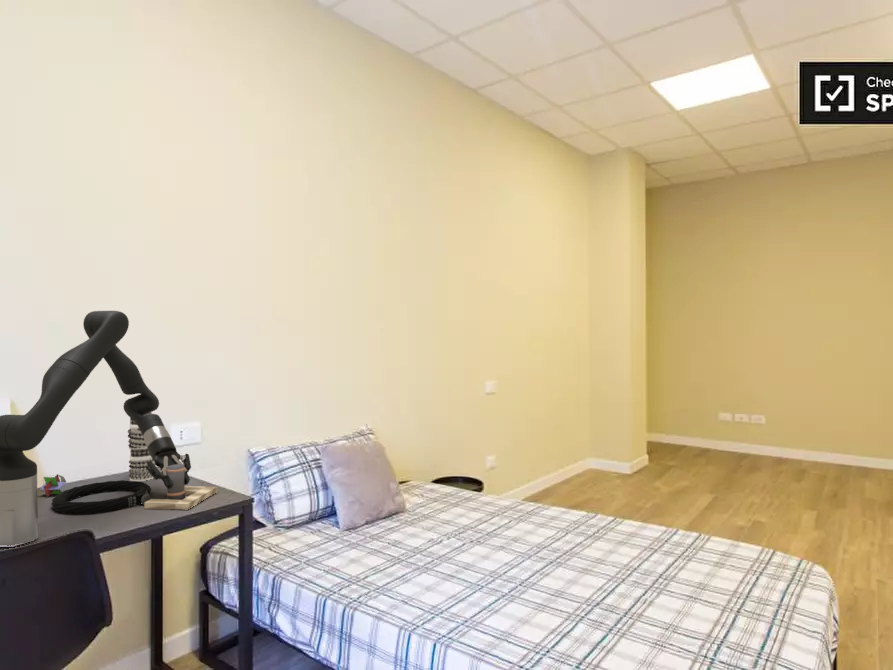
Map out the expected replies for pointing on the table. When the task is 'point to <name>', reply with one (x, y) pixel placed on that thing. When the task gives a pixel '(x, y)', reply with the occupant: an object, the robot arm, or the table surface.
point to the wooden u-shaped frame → (194, 497)
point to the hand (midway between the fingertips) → (179, 485)
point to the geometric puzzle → (53, 485)
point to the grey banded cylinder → (176, 481)
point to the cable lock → (137, 498)
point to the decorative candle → (138, 454)
